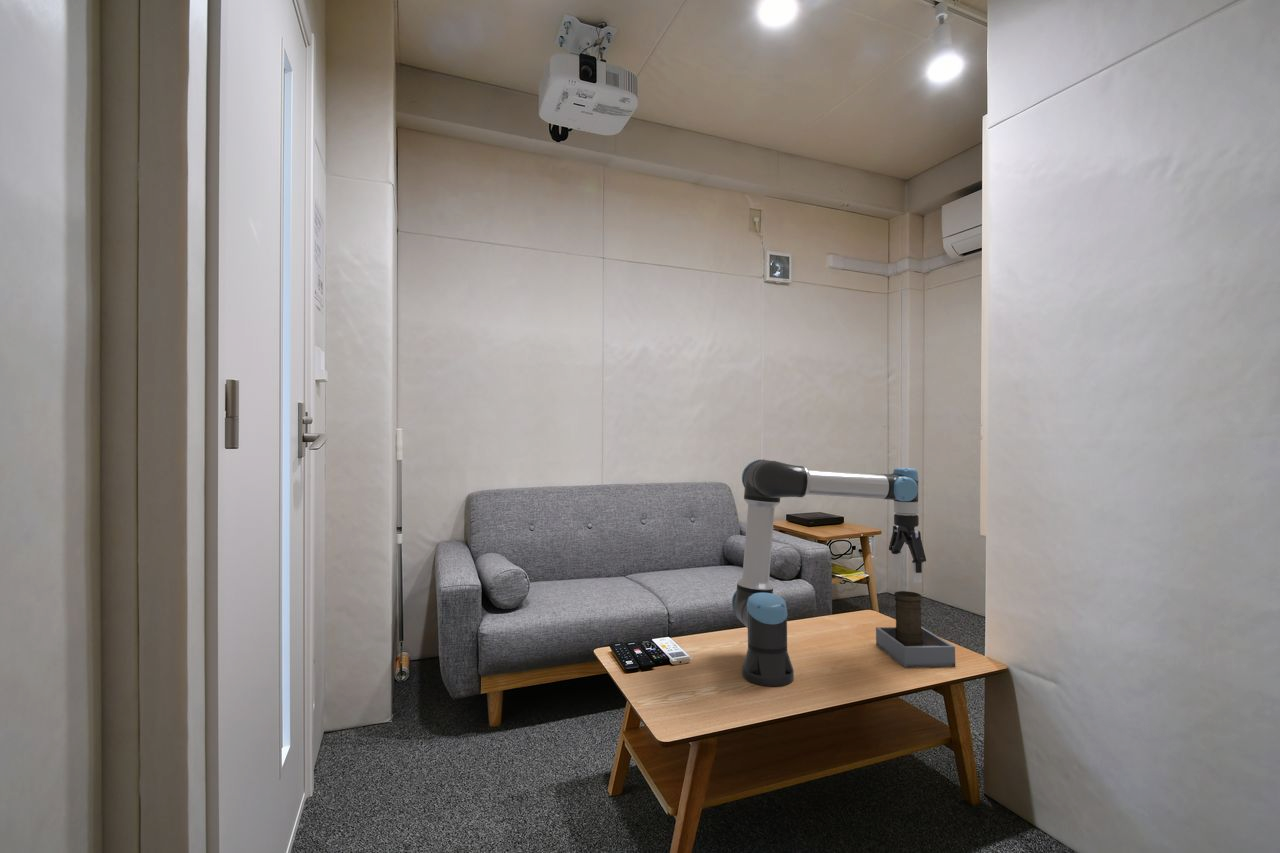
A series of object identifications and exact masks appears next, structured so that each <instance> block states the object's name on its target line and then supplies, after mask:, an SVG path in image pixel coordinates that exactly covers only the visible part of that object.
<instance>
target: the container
mask: <svg viewBox="0 0 1280 853" xmlns="http://www.w3.org/2000/svg"><path fill="white" fill-rule="evenodd" d="M893 596H894V597H895V598H894V600H895V605H894V606H895V607H894V608H895V627H896V630H895V631H896V638H895V639H896V640H897V641H899V642H900V643H901V644H903V645H904V646H923V641H922V632H921V627H922V611H921V610H922V608H921V603H922V599H923V597H922V594H920V593H918V592H914V591H908V590H907V591H906V590H901V591H900V590H899V591H894V594H893Z"/></svg>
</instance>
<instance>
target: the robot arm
mask: <svg viewBox="0 0 1280 853" xmlns="http://www.w3.org/2000/svg"><path fill="white" fill-rule="evenodd" d="M919 482H920V480H919V473H918V469H916V468H913V467H895V468H893V471H892V473H859V472H845V471H831V470H830V471H829V470H813V469H807V468H806V467H805V466H804V465H796V464H795V465H794V464H790V463H785V462H781V461H776V460H769V459H764V458H763V459H756V460H754V461H750V463H748V464H747V465H745V467H744V469H743V471H742V473H741V483H742V486H743V488H744V493H743V494H744V495H743V499H744V501H745V503H746V504H747V514H746V526H745V540H744V541H745V542H744V553H743V565H742V576H741V578H740V579H739V580H737V582H736V590H735V591H734V593H733V595H732V598H731V607H732V610H733V612H734V615H735V617H736V618H737V619H738V620H739V621H740V622H741V623H742V624H743V625H744V626H745V627H746V628H747V651H746V653H745V657H744V659H743V663H742V667H741V669H742V673H741V675H742V676H743V679H745V680H746V681H748V682H750V683H753V684H755V685H758V686H759V685H760V686H765V687H766V686H767V687H779V686H780V687H781V686H785V685H788V684H790V683H792V682H793V681H794V679H795V673H794V672H795V671H794V668H793V664H792V662H791V657H790V655H789V652H788V609H787V603H786V601H785V599H784V598H782V596H779V595H777V594H774V585H773V584H772V583H771V582H770V571H771V562H772V561H771V560H772V559H771V558H772V547H773V533H774V521H775V520H774V519H775V509H776V507H777V506H778V505H779V504H780V503H781V498H804V497H805V496H806V495H813V496H814V495H815V496H827V497H843V498H844V497H845V498H846V497H847V498H862V499H877V500H889V501H890V500H892V501H893V512H894V513H895V514H894V515H893V524H894V525H893V526H892V533H891V534H892V535H891V538H890V541H889V545H888V550H889V551H890V553H891V554H892V562H891V563H892V573H893V574H902V548H903V546H904V544H906V545H907V547H908V549H909V552H910V554H911V557H912V559H913V560H912V561H911V563H912V566H911V567H912V569H911V571H912V578H911V579H912V583H913V584H917V583H918V584H920V583H923V563H926V562H927V558H926V554H925V550H924V546H923V542H922V537H921V534H922V533H921V531H920V530H915V528H916V527H919V524H920V523H919V521H920V520H919V519H920V518H919V515H918V514H919V507H920V504H919Z"/></svg>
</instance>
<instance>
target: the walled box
mask: <svg viewBox="0 0 1280 853" xmlns="http://www.w3.org/2000/svg"><path fill="white" fill-rule="evenodd" d="M895 630H896V626H879V627H877V626H876V627H875V645H876V646H877V647H878V648H880V649H881V650H882V651H883V652H885V653H886V654H887V655H888V656H889V657H890V658H892V659H894V660H895V661H896V662H898V664H900V665H901V666H903V667H904V668H938V667H939V668H940V667H941V668H942V667H944V668H946V667H947V666H951V667H956V647H955V646H954V645H952V644H951V643H950V642H948V641H946V640H945V639H943V638H942V637H940V636H938V635H936V634H935V633H933V632H931V631H930V630H928V629H926V628H924V627H923V626H921V632H922V641H923V646H904V645H903V644H901V643H900V642H899V641H897V640H896V639H895V638H896V631H895ZM947 668H948V667H947Z"/></svg>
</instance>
